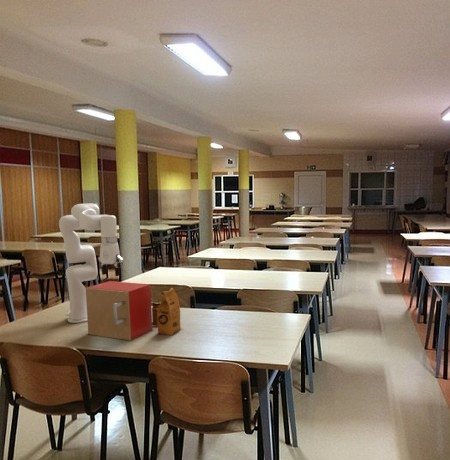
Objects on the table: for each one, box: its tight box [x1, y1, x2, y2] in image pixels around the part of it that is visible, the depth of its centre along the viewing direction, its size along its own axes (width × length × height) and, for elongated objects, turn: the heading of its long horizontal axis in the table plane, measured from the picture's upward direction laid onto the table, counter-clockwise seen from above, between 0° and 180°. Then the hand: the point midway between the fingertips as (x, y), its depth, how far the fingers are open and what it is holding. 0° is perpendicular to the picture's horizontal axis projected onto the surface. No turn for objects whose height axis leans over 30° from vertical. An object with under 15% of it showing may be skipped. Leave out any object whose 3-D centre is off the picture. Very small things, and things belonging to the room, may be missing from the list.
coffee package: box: [157, 287, 182, 336], centre depth 251 cm, size 10×12×22 cm
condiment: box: [151, 301, 162, 328], centre depth 266 cm, size 7×8×12 cm
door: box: [85, 287, 131, 341], centre depth 240 cm, size 8×26×24 cm, turn 64°
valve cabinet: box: [86, 280, 153, 341], centre depth 252 cm, size 18×26×24 cm
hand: (111, 275), depth 241 cm, fingers open, 9 cm apart
